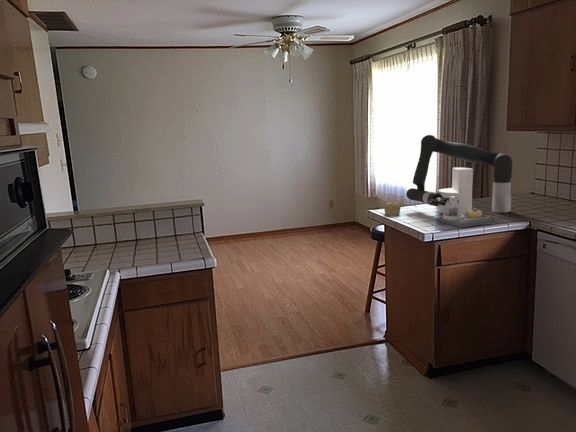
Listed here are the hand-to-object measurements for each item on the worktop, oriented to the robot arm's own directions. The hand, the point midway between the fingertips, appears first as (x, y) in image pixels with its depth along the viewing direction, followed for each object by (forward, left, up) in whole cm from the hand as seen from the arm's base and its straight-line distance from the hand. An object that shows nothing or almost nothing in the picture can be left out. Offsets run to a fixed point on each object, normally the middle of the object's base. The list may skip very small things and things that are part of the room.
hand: (451, 202), depth 252 cm
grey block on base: (0, +1, -8) cm, 8 cm away
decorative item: (+17, -32, -10) cm, 38 cm away
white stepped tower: (-19, -20, -10) cm, 29 cm away
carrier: (-4, +5, -10) cm, 12 cm away
